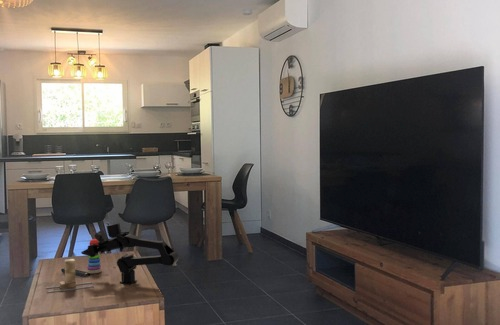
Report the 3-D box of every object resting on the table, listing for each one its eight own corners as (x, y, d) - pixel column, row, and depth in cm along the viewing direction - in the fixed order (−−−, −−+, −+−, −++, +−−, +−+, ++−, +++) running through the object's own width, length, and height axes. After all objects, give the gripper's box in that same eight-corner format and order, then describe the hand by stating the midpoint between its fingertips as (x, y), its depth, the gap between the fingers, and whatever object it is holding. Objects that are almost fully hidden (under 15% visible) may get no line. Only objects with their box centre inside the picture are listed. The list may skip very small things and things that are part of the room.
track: (91, 284, 273) (91, 282, 273) (93, 288, 265) (93, 286, 265) (46, 290, 264) (46, 287, 264) (46, 294, 257) (46, 291, 257)
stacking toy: (97, 274, 293) (96, 240, 292) (84, 273, 295) (83, 240, 294) (104, 270, 301) (103, 238, 300) (91, 270, 303) (90, 237, 302)
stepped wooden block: (74, 285, 268) (73, 258, 267) (75, 288, 263) (74, 260, 262) (60, 287, 265) (59, 259, 265) (60, 290, 260) (60, 262, 260)
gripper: (116, 226, 287) (91, 233, 290) (98, 233, 268) (72, 239, 272) (121, 246, 286) (96, 252, 290) (104, 254, 268) (78, 260, 272)
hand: (86, 251), depth 281 cm, fingers open, 9 cm apart
